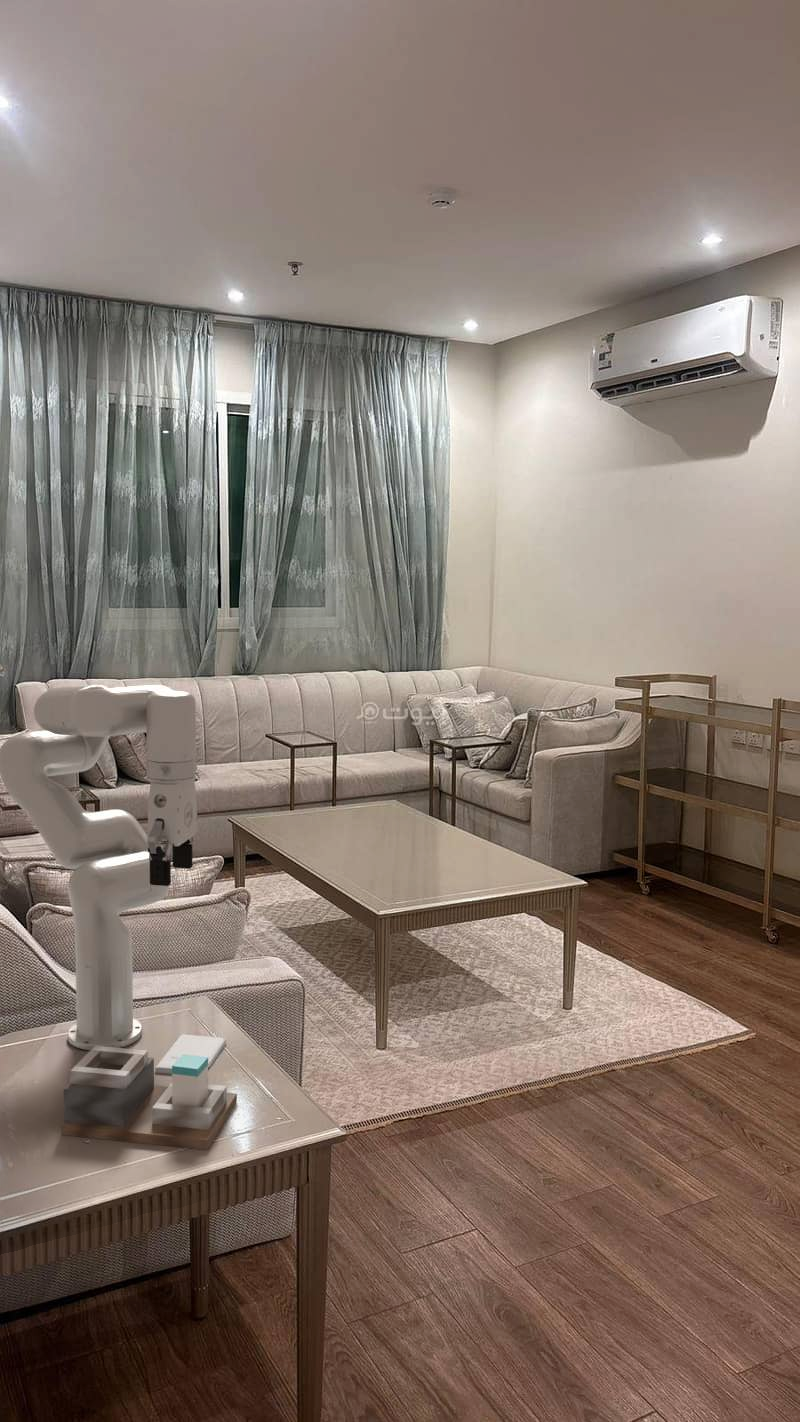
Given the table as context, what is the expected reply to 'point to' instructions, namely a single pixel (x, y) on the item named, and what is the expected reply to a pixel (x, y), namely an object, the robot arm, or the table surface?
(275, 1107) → the table surface
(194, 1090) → the plug block
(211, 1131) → the socket console
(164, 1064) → the external hard drive
